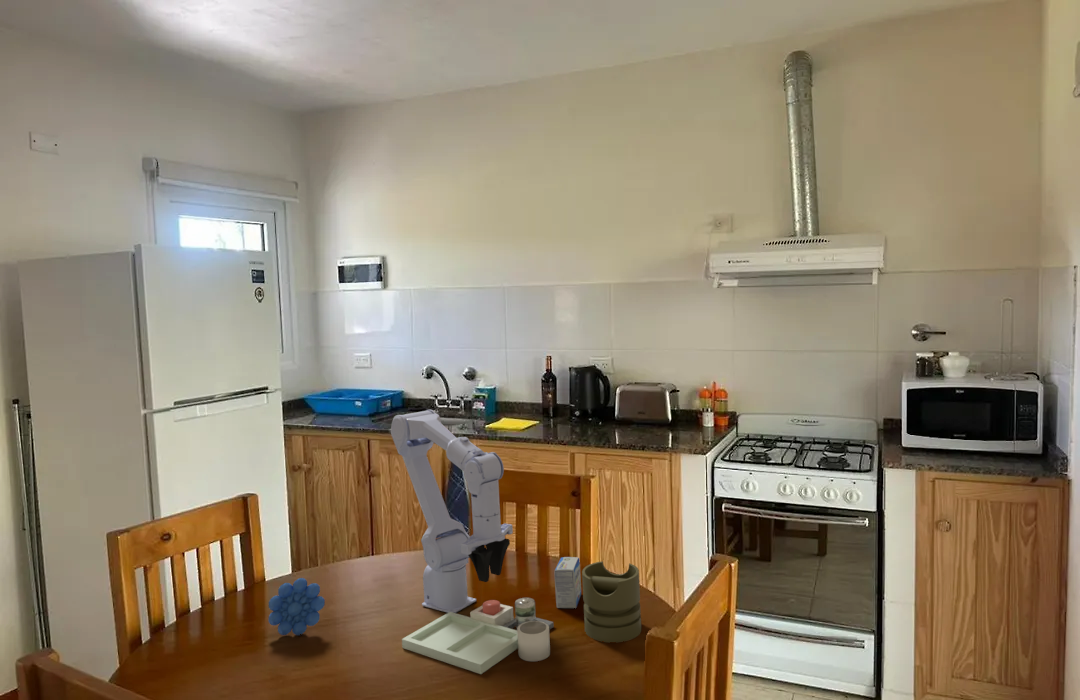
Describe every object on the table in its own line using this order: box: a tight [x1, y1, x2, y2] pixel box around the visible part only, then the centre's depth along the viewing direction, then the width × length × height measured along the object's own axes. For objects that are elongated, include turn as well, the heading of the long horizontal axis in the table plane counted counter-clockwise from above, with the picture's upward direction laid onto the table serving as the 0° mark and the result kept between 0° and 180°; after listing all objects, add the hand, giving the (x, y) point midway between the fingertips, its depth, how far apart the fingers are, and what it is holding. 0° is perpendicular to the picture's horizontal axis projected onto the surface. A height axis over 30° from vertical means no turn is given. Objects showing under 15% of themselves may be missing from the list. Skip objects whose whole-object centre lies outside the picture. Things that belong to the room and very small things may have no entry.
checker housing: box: [469, 603, 515, 626], centre depth 152 cm, size 6×6×3 cm
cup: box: [517, 621, 551, 662], centre depth 139 cm, size 6×6×5 cm
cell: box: [514, 597, 537, 630], centre depth 148 cm, size 4×4×6 cm
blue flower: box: [268, 577, 326, 636], centre depth 152 cm, size 12×7×12 cm, turn 94°
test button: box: [482, 599, 501, 616], centre depth 152 cm, size 4×4×4 cm
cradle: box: [503, 617, 555, 631], centre depth 149 cm, size 8×8×1 cm
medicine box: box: [553, 556, 582, 609], centre depth 161 cm, size 8×4×9 cm, turn 168°
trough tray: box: [401, 612, 518, 675], centre depth 144 cm, size 20×14×2 cm
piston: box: [581, 560, 642, 643], centre depth 147 cm, size 11×12×11 cm
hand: (489, 577), depth 152 cm, fingers open, 3 cm apart
